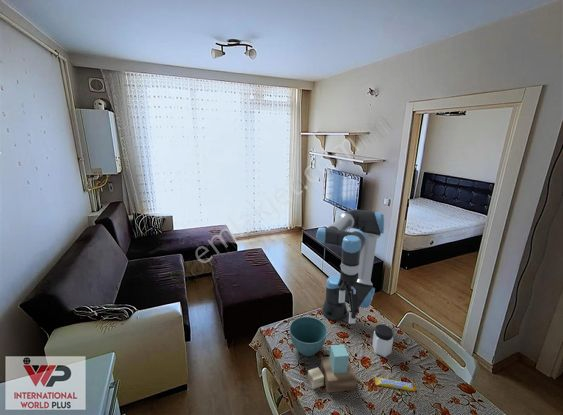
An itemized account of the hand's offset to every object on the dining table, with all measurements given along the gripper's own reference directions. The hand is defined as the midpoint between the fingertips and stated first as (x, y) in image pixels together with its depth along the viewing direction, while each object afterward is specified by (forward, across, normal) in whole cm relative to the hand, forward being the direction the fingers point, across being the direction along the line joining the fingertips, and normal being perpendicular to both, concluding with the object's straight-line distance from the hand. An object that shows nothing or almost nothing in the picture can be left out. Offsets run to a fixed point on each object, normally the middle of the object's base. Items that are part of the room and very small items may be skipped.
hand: (346, 312), depth 117 cm
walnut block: (+26, +11, -6) cm, 29 cm away
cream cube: (+26, +12, -16) cm, 33 cm away
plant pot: (+26, -6, -16) cm, 32 cm away
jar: (+27, -2, +20) cm, 34 cm away
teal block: (+20, +10, -6) cm, 23 cm away
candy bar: (+27, +16, +17) cm, 36 cm away
